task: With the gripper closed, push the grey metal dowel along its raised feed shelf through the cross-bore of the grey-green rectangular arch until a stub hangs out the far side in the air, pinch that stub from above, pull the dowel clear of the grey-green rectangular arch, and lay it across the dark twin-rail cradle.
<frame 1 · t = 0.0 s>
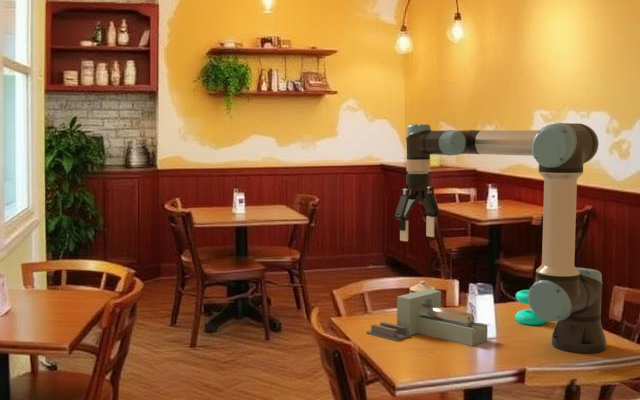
hand: (417, 238, 245), 28 cm above the table, tool pointing down, fingers open, 13 cm apart
feed shelf: (451, 336, 232), on the table
donuts: (530, 322, 250), on the table
dowel: (442, 321, 234), point 4 cm above the table, touching grey-green rectangular arch, feed shelf
grey-green rectangular arch: (419, 329, 241), on the table
cradle: (388, 335, 234), on the table
teacup with lid: (422, 314, 261), on the table
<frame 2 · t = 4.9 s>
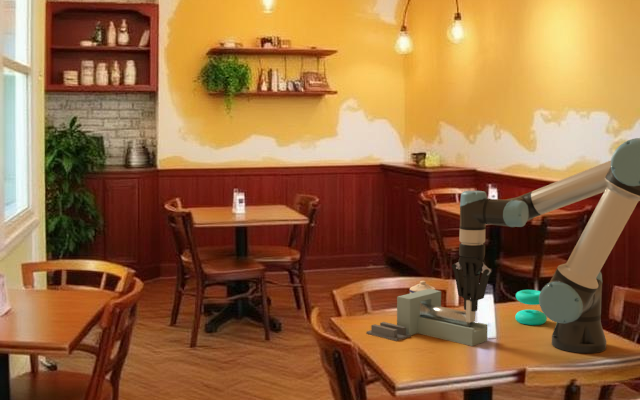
hand: (470, 321, 227), 6 cm above the table, tool pointing down, fingers closed
dowel: (441, 321, 235), point 4 cm above the table, tilted 19°, touching gripper
everything else where it was.
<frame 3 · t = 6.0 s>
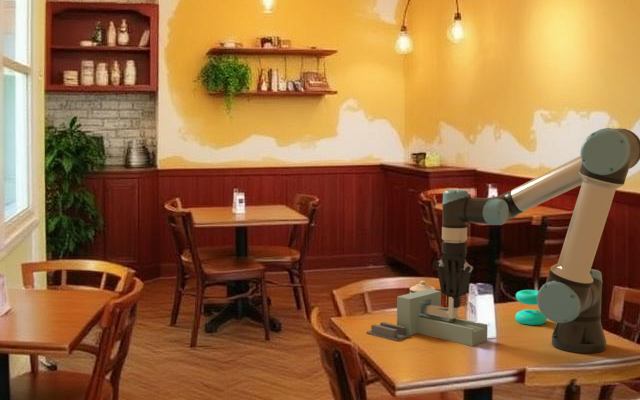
hand: (452, 317, 231), 6 cm above the table, tool pointing down, fingers closed
dowel: (424, 317, 239), point 4 cm above the table, tilted 17°, touching gripper
everything else where it was.
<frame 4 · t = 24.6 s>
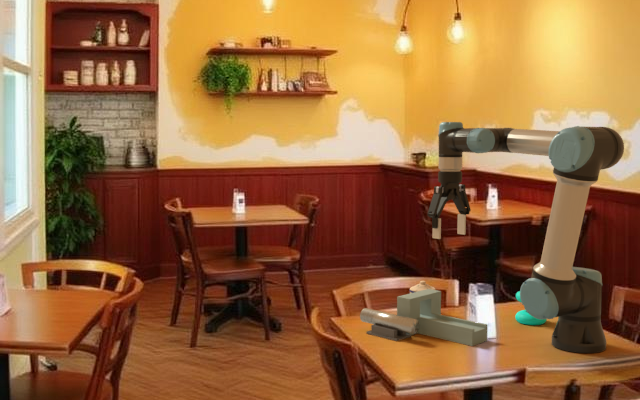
hand: (449, 236, 245), 29 cm above the table, tool pointing down, fingers open, 13 cm apart
dowel: (388, 327, 234), point 2 cm above the table, tilted 12°, touching cradle
everything else where it was.
at the end: dowel inside the target area on the cradle (0.5 cm from its centre), point 2.4 cm above the cradle's base; dowel touching cradle; the gripper is holding nothing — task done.
